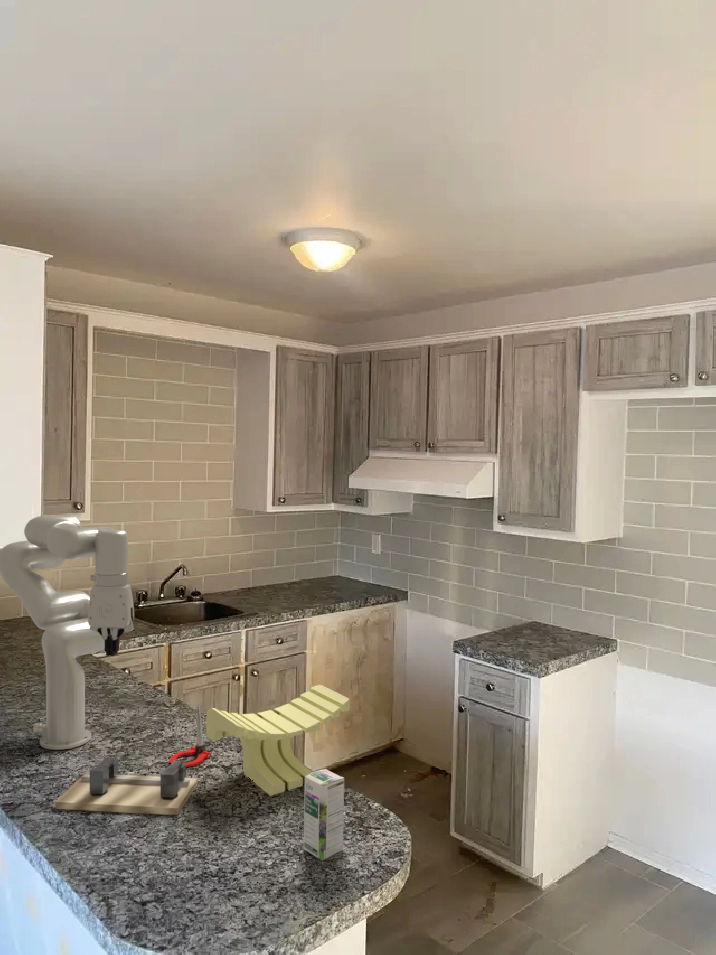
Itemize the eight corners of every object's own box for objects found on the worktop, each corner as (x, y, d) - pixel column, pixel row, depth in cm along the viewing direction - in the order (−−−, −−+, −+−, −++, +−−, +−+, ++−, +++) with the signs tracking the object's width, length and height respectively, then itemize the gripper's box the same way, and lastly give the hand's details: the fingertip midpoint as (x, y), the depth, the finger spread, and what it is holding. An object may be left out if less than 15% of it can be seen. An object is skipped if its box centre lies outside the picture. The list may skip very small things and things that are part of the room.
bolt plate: (55, 808, 154) (55, 776, 154) (85, 779, 168) (85, 749, 168) (177, 815, 152) (177, 782, 151) (197, 784, 166) (197, 755, 165)
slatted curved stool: (313, 749, 186) (314, 681, 186) (349, 771, 173) (349, 698, 173) (206, 779, 169) (206, 704, 168) (236, 806, 156) (236, 725, 155)
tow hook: (185, 773, 173) (214, 758, 180) (182, 720, 172) (212, 708, 179) (162, 764, 178) (191, 750, 185) (160, 713, 177) (189, 701, 184)
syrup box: (302, 849, 139) (302, 776, 138) (325, 838, 143) (325, 766, 143) (321, 861, 135) (322, 786, 134) (344, 850, 139) (345, 776, 138)
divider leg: (89, 794, 157) (89, 770, 157) (105, 777, 165) (105, 755, 165) (102, 794, 157) (102, 771, 156) (118, 778, 165) (118, 755, 165)
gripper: (75, 582, 172) (75, 658, 173) (135, 583, 171) (135, 660, 171) (89, 577, 180) (89, 649, 180) (147, 578, 178) (147, 651, 179)
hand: (111, 654), depth 176 cm, fingers closed
